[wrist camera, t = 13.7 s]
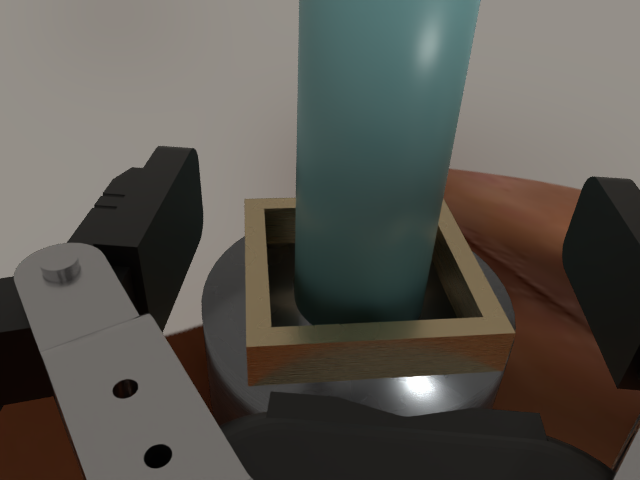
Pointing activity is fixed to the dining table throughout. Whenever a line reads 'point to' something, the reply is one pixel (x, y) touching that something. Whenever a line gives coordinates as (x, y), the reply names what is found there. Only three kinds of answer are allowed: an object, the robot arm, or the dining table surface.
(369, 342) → the disc with square collar
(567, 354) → the dining table surface
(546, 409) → the dining table surface
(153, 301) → the robot arm
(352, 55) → the bottle
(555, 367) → the dining table surface
